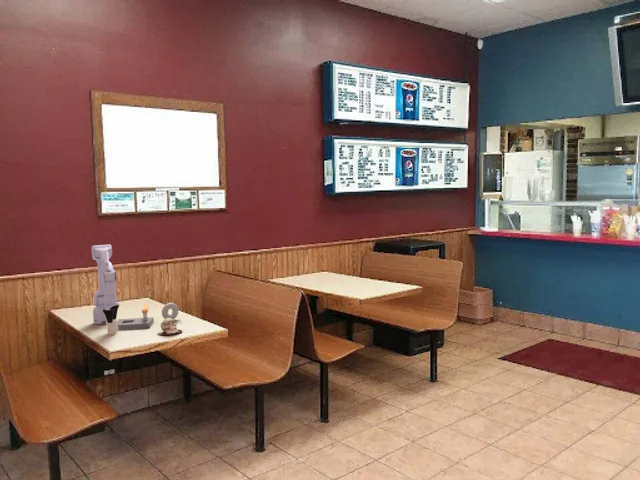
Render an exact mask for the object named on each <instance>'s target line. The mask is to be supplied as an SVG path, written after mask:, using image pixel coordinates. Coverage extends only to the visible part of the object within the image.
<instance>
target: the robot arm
mask: <svg viewBox="0 0 640 480" xmlns="http://www.w3.org/2000/svg"><path fill="white" fill-rule="evenodd" d="M112 255H113V248H112V245H111V244H99V245H96V244H95V245H93V244H92V246H91V257H92V260H95V261H96V263H97V264H96V265H97V276H98V277H97V278H98V289H97V290H96V291H95V292H94V294H93V295H94V296H93V303H94V307H93V310H92V318H93V325H103V324H102V323H101V322H102V321H107V322H108V323H112V322H113V319H117V317H118V309H119V308H120V302H118V299H117V284H116V283H117V277H118V276H117V272H116V270H115V269H114V266H113V264H112V262H111V261H110V260H109V259H111V258H112ZM105 325H106V323H105Z"/></svg>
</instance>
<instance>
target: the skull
mask: <svg viewBox="0 0 640 480" xmlns="http://www.w3.org/2000/svg"><path fill="white" fill-rule="evenodd" d="M160 328H161V332H158V333H157V335H158V336H171V335H176V334H179V333H181V332H183V331H182V329H178V327H177V323H176V321H175V319H174V320H173V319H172V318H166V319H163V320H162V322H161V323H160Z"/></svg>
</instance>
